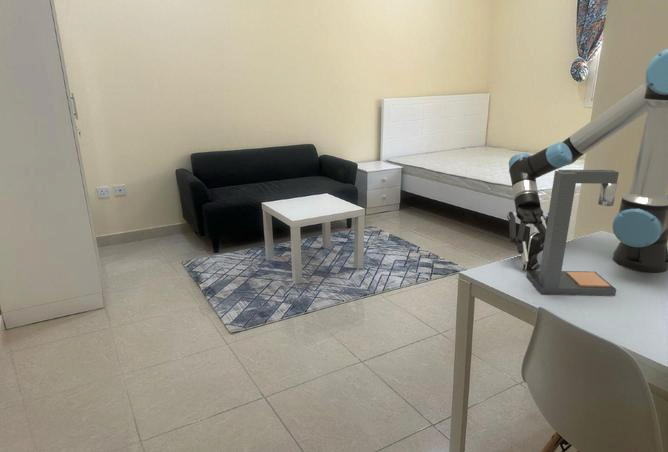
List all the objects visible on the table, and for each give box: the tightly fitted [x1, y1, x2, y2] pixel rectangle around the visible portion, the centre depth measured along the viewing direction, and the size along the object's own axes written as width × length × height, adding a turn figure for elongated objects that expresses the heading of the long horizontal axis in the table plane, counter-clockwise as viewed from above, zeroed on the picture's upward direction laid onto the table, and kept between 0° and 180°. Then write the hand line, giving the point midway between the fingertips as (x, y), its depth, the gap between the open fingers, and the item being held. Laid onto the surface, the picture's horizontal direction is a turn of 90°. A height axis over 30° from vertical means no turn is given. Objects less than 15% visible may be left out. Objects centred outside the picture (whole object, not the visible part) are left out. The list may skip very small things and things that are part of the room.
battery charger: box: [522, 231, 545, 271], centre depth 142 cm, size 7×4×11 cm, turn 138°
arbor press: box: [525, 169, 620, 297], centre depth 127 cm, size 20×12×34 cm, turn 87°
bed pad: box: [567, 271, 610, 287], centre depth 131 cm, size 8×9×1 cm
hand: (537, 262), depth 139 cm, fingers closed on battery charger, 6 cm apart
